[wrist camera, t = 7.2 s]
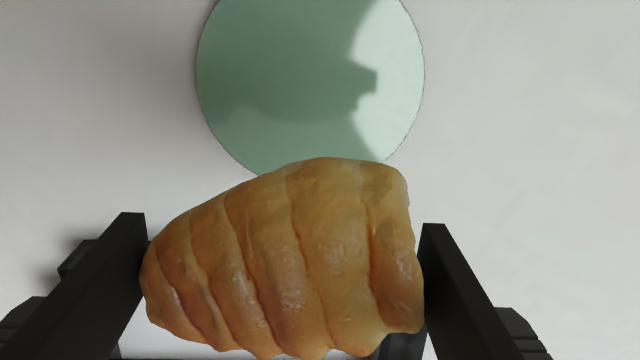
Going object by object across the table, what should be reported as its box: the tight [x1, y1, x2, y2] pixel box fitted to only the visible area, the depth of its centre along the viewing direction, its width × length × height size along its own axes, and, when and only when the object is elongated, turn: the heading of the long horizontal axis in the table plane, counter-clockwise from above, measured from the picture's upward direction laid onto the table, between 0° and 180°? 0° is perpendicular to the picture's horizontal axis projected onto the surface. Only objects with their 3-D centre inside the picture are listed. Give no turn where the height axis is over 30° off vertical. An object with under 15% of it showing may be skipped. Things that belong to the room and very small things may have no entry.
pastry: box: [138, 157, 425, 360], centre depth 12 cm, size 9×7×4 cm
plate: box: [196, 0, 425, 176], centre depth 24 cm, size 14×14×1 cm
